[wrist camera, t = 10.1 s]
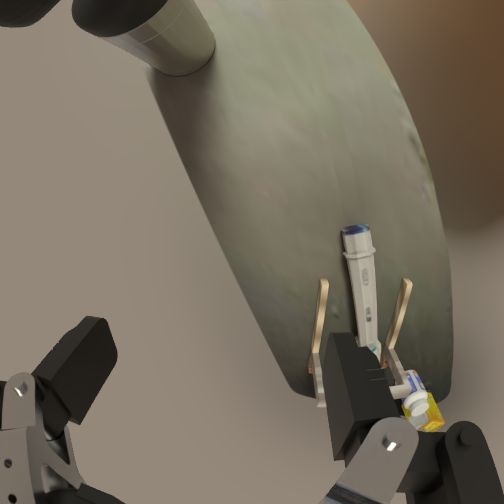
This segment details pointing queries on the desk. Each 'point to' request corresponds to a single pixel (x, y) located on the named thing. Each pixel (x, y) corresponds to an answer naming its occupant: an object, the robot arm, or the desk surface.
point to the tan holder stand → (388, 352)
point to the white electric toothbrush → (362, 284)
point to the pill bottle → (415, 395)
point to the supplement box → (426, 417)
